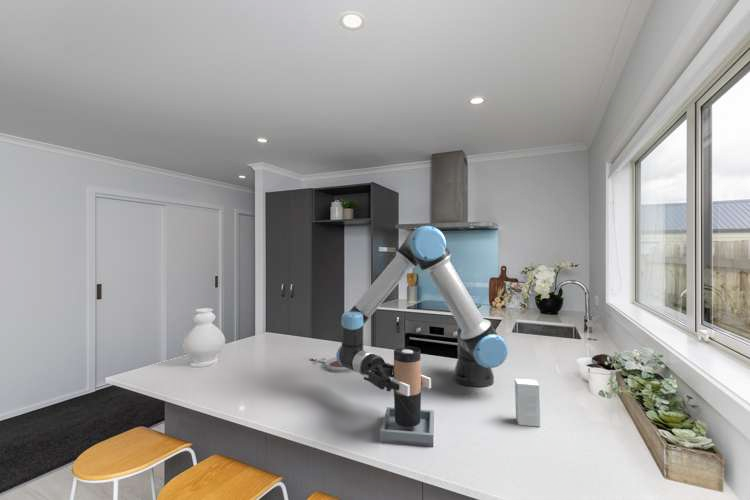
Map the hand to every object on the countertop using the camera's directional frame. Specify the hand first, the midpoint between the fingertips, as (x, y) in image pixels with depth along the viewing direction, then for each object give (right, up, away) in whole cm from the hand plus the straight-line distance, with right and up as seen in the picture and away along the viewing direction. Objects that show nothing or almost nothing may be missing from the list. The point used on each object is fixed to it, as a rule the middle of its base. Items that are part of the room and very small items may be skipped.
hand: (419, 387), depth 92 cm
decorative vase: (-92, -16, +67) cm, 115 cm away
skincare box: (+33, -14, +7) cm, 36 cm away
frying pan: (-31, -15, +62) cm, 71 cm away
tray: (-3, -14, +4) cm, 15 cm away
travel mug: (-3, -11, +4) cm, 12 cm away
